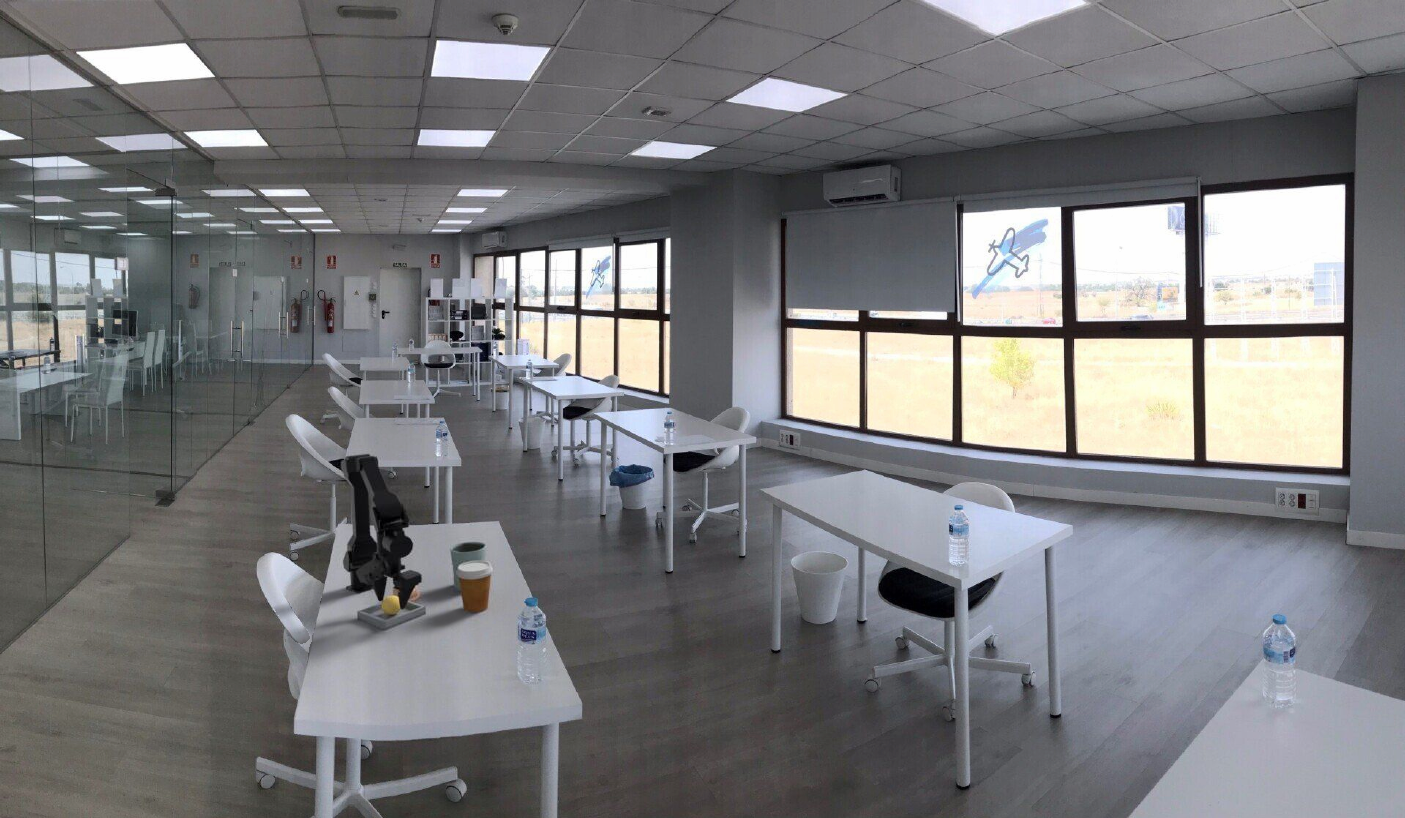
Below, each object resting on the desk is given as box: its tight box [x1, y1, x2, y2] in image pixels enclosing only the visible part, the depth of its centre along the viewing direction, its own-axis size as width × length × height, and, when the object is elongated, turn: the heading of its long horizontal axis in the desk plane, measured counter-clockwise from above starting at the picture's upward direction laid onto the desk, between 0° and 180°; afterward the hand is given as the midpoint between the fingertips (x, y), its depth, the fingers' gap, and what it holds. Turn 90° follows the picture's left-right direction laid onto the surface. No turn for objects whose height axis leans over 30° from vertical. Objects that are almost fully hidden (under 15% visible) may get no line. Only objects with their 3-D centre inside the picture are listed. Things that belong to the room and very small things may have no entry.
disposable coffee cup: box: [456, 560, 494, 614], centre depth 202 cm, size 10×10×12 cm
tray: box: [356, 601, 427, 631], centre depth 197 cm, size 12×12×2 cm
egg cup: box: [391, 585, 421, 602], centre depth 209 cm, size 8×8×4 cm
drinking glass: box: [449, 541, 487, 592], centre depth 218 cm, size 10×10×12 cm
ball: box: [381, 595, 400, 615], centre depth 197 cm, size 5×5×5 cm
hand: (391, 604), depth 196 cm, fingers open, 9 cm apart
